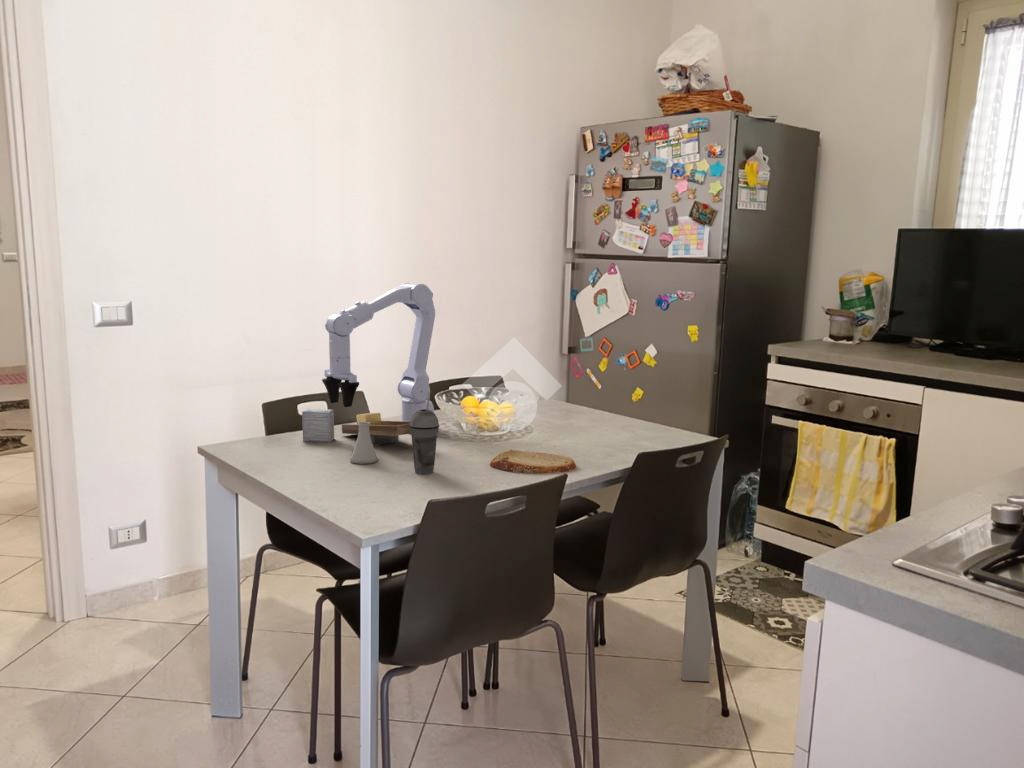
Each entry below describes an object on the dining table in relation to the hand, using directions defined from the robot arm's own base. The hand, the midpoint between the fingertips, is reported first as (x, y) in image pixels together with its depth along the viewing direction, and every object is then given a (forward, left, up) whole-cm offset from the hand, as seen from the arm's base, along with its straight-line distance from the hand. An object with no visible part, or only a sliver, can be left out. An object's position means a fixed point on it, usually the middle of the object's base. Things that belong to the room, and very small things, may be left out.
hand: (340, 404), depth 228 cm
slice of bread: (-23, +55, -11) cm, 61 cm away
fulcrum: (-7, +11, -10) cm, 17 cm away
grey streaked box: (+6, -3, -10) cm, 12 cm away
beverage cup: (+2, +43, -10) cm, 44 cm away
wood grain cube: (-7, +3, -7) cm, 11 cm away
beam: (-7, +11, -7) cm, 15 cm away
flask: (+8, +25, -10) cm, 28 cm away
